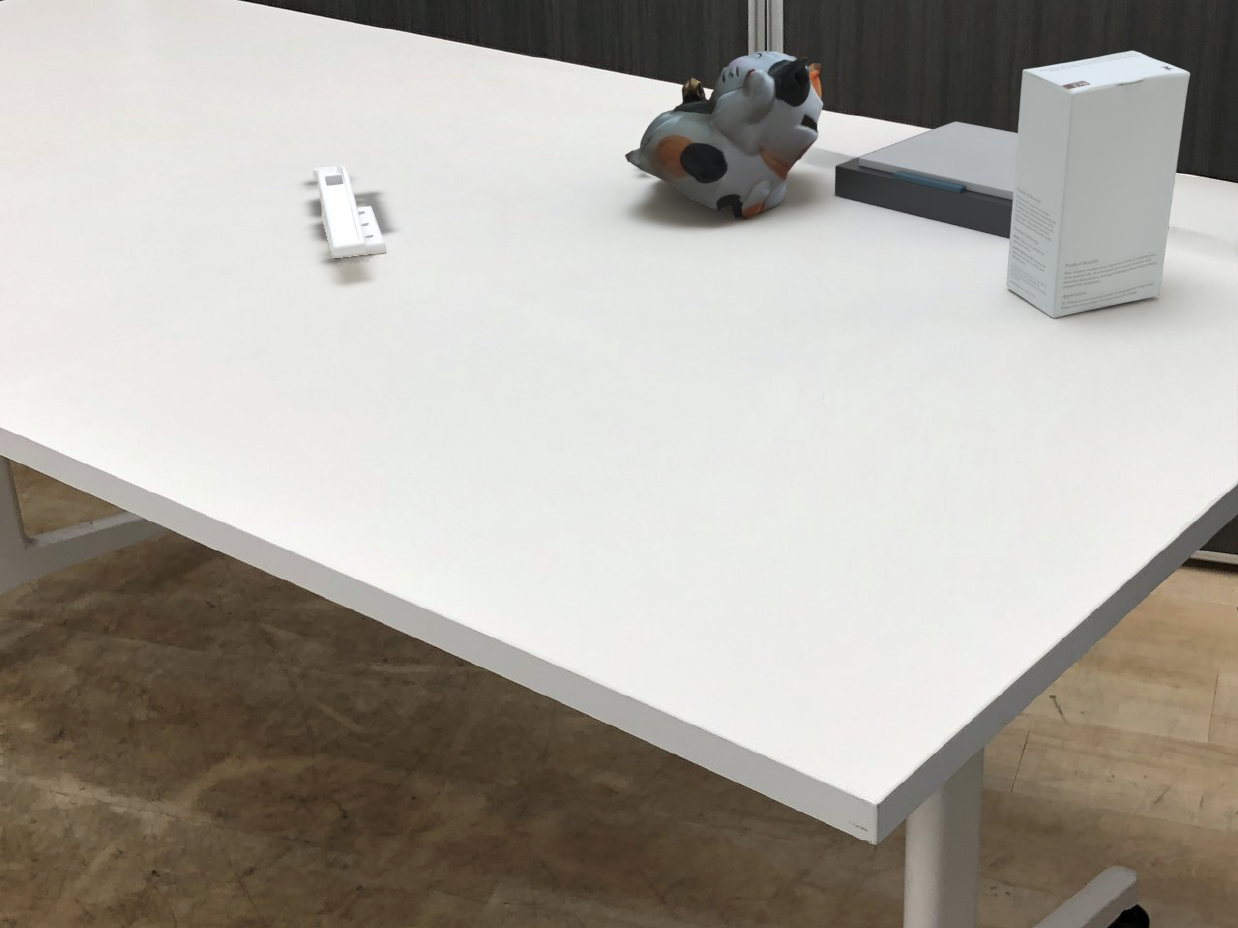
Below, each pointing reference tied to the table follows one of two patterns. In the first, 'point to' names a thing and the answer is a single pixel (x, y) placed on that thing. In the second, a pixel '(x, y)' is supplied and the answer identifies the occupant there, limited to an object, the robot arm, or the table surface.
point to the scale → (940, 176)
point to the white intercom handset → (346, 216)
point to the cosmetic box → (1094, 181)
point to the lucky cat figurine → (737, 134)
